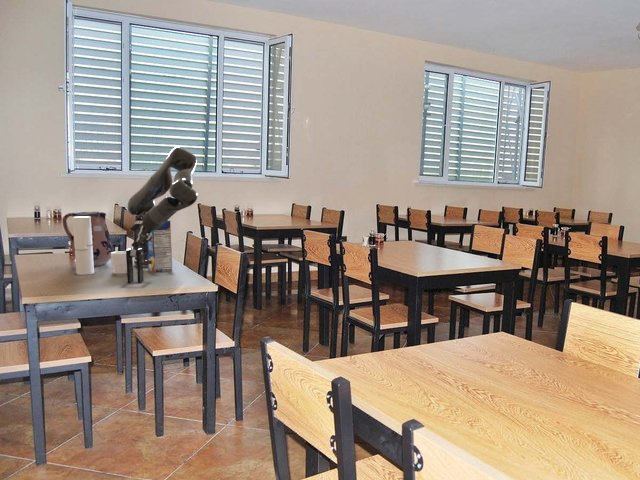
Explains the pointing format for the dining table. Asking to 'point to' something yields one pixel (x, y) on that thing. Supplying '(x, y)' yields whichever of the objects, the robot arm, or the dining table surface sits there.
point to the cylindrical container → (83, 245)
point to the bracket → (130, 266)
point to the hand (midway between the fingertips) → (132, 238)
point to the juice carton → (160, 249)
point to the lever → (133, 254)
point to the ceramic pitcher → (94, 236)
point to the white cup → (119, 262)
